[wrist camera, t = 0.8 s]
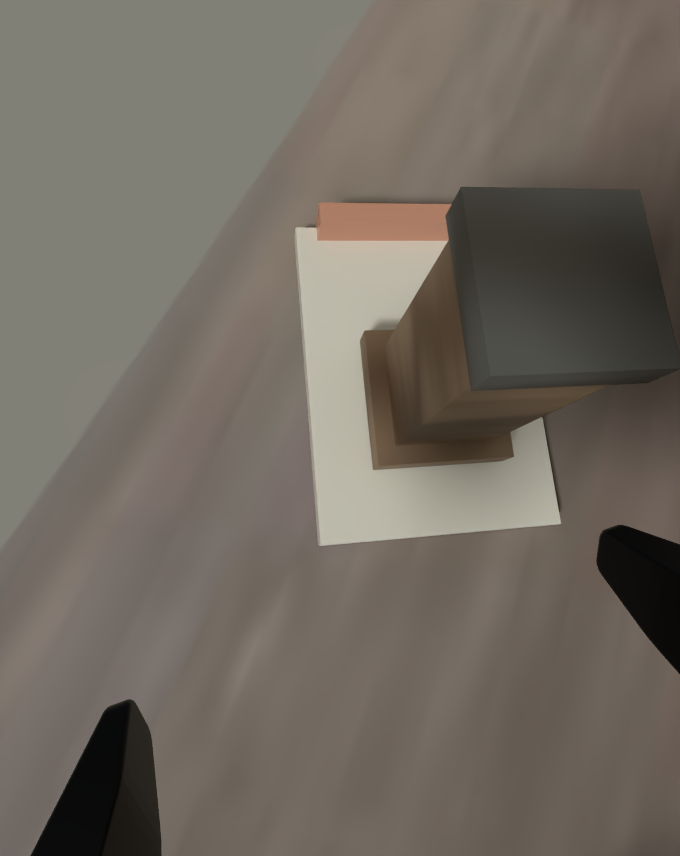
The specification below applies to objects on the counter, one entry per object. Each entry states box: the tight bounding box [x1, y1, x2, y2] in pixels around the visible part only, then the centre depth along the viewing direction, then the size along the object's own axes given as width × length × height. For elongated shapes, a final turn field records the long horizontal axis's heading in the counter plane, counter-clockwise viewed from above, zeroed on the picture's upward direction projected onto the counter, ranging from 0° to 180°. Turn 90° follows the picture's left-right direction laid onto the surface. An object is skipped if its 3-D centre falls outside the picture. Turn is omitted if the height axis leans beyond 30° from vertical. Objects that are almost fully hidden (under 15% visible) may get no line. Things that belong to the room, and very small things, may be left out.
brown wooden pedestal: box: [360, 187, 680, 470], centre depth 19 cm, size 6×6×11 cm
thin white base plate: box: [294, 203, 561, 546], centre depth 25 cm, size 15×11×2 cm
